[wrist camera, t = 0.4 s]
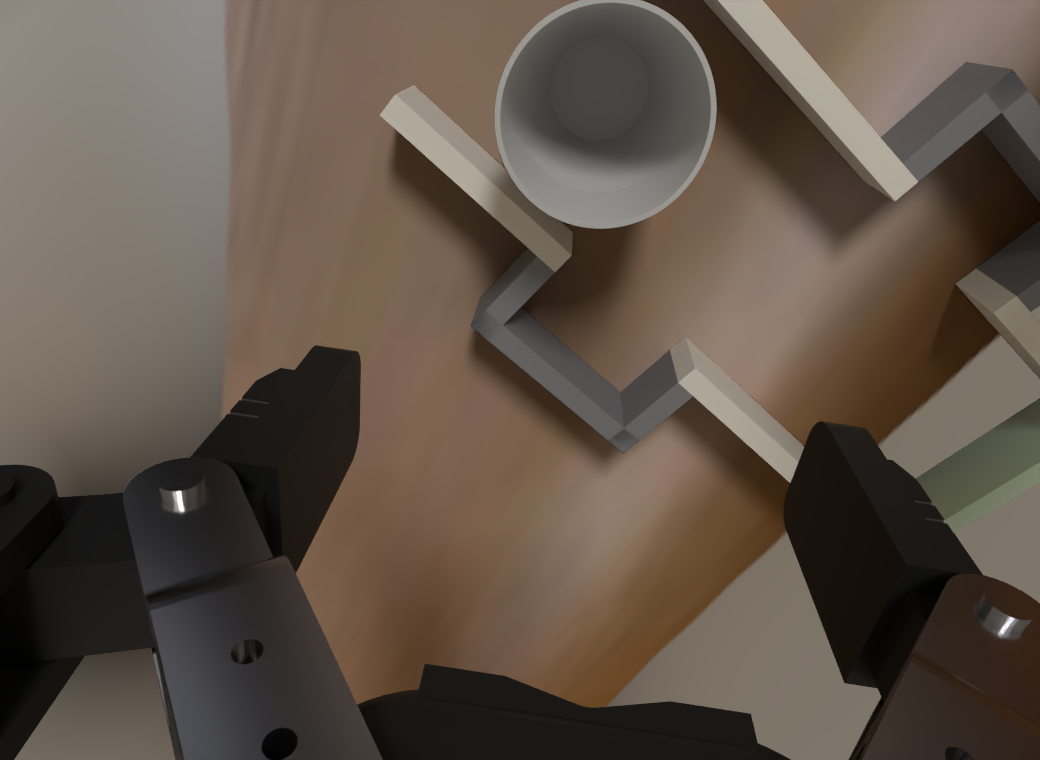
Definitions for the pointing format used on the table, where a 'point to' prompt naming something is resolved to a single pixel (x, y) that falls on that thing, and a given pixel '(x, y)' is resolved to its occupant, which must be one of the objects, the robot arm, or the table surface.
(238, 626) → the robot arm
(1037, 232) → the box
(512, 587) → the table surface
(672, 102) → the cup
